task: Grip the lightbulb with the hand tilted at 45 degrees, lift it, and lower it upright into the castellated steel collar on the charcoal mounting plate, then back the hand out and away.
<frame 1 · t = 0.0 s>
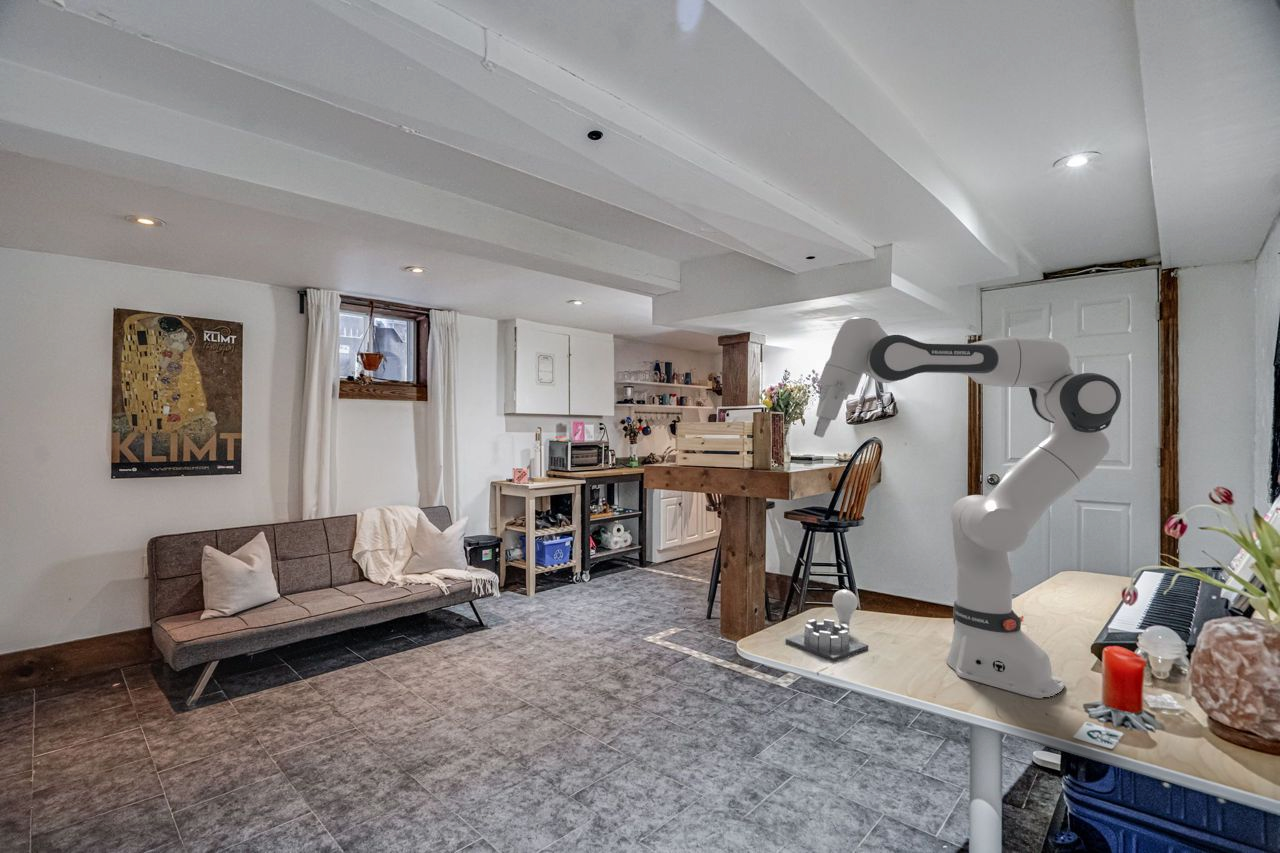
hand: (817, 436, 144), 52 cm above the table, tool tilted 20°, fingers open, 8 cm apart
lamp socket: (826, 646, 147), on the table
lightbulb: (844, 631, 158), on the table
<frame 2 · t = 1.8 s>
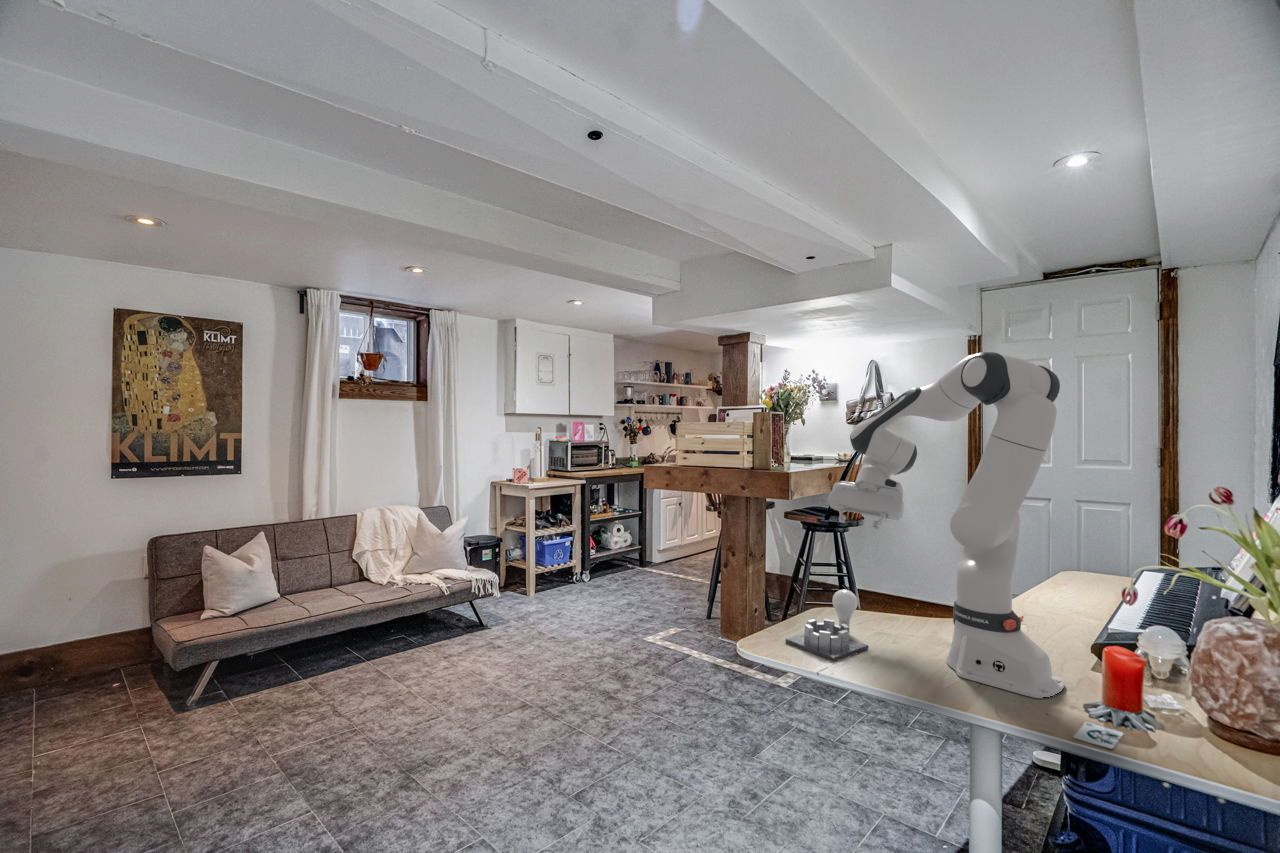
hand: (858, 524, 166), 27 cm above the table, tool tilted 40°, fingers open, 8 cm apart
nothing on the table moved.
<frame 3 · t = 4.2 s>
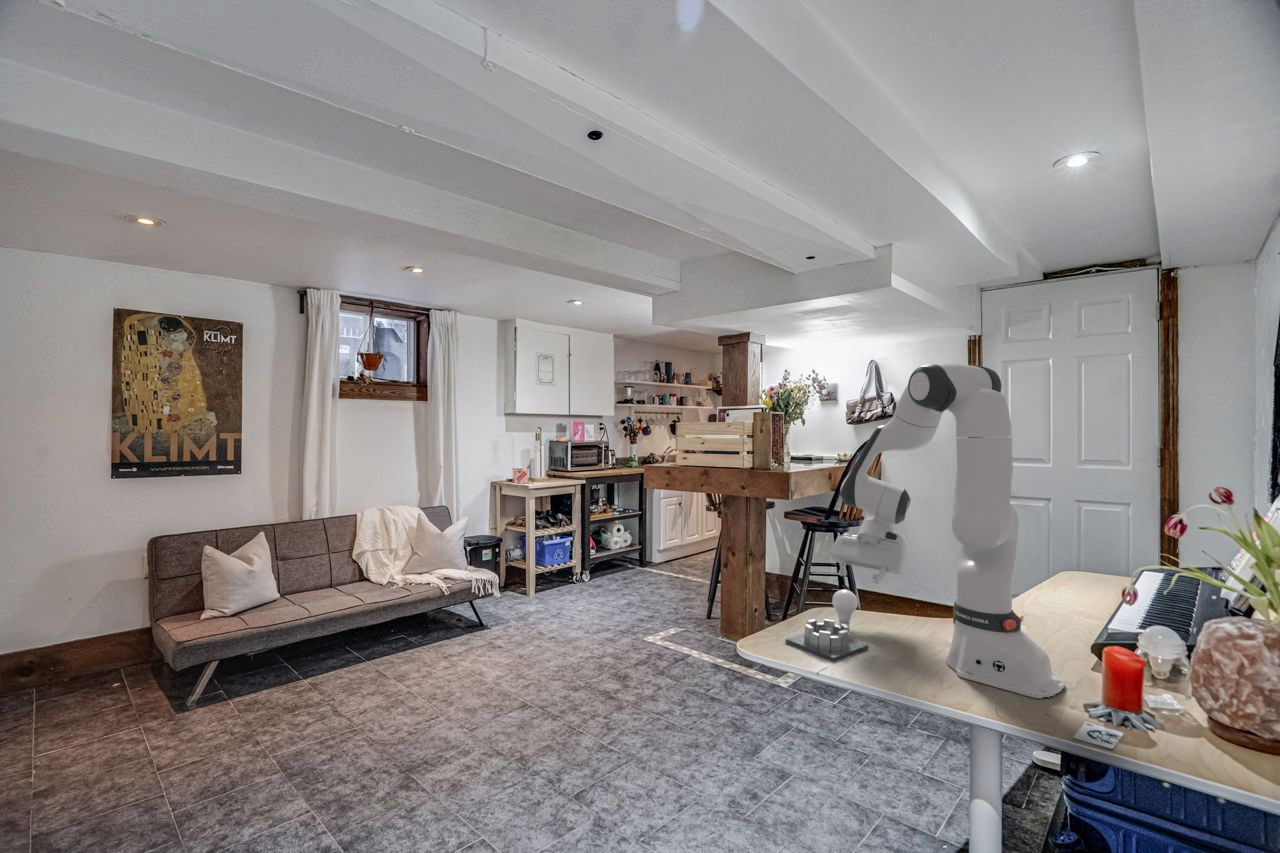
hand: (858, 578, 164), 13 cm above the table, tool tilted 45°, fingers open, 8 cm apart
nothing on the table moved.
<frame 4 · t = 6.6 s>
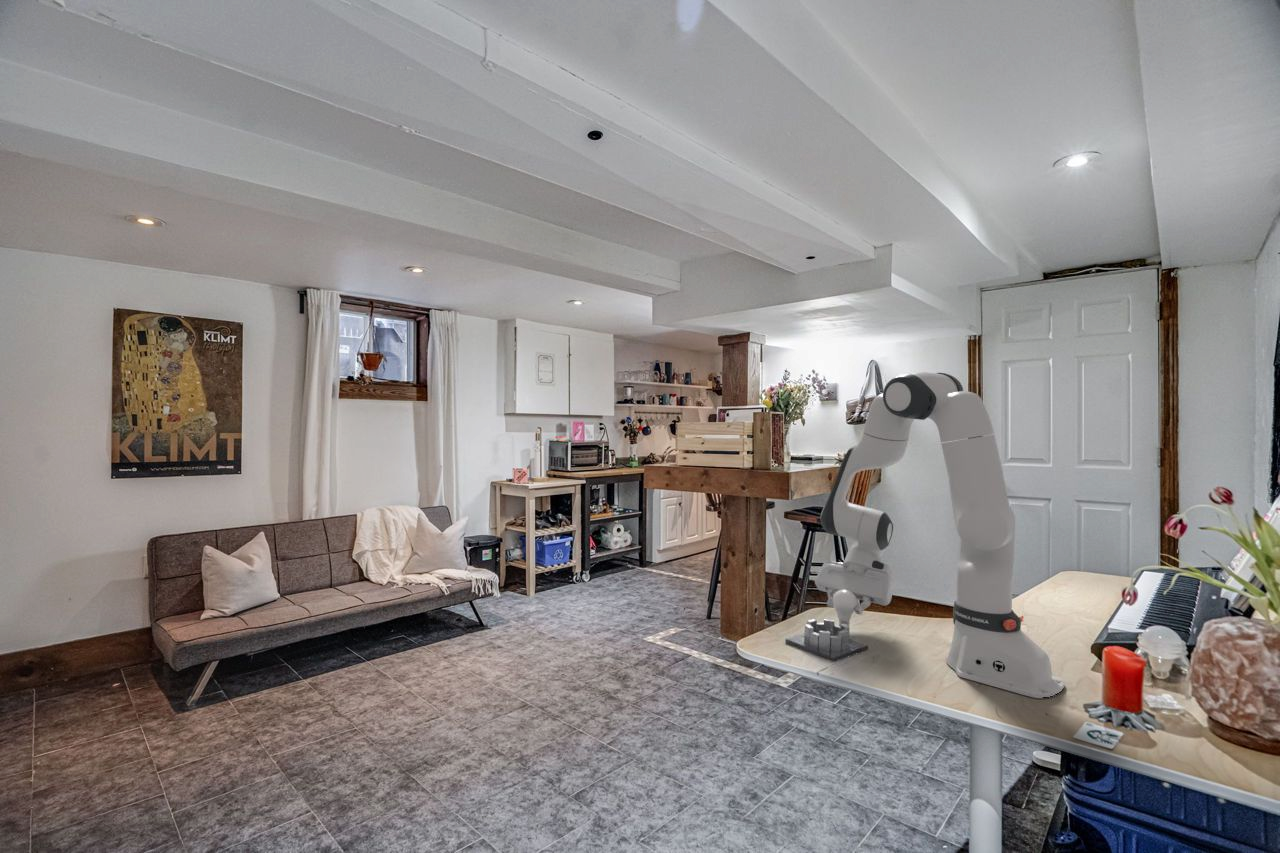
hand: (843, 609, 158), 6 cm above the table, tool tilted 45°, fingers closed on lightbulb, 6 cm apart
lightbulb: (844, 631, 158), on the table, touching gripper
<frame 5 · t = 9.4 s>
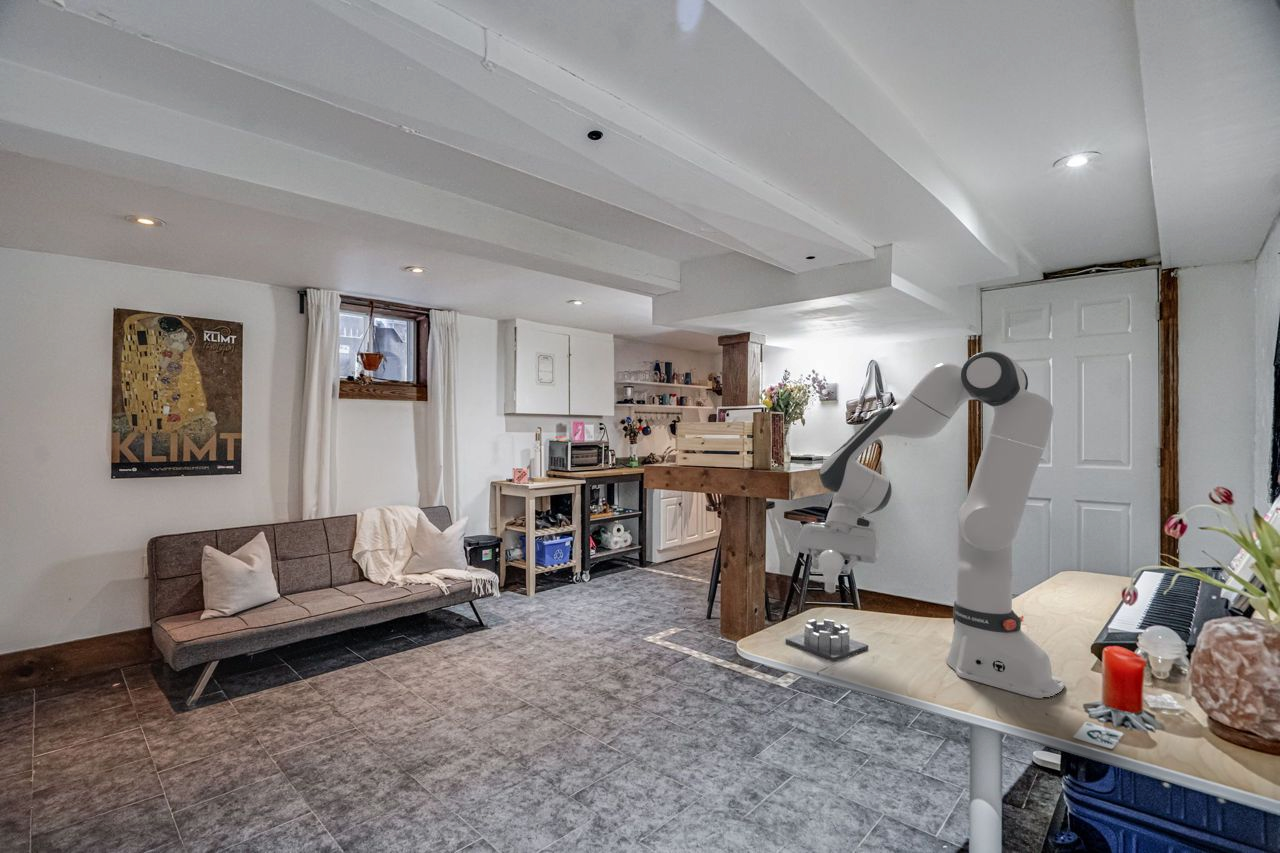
hand: (830, 570, 149), 18 cm above the table, tool tilted 45°, fingers closed on lightbulb, 6 cm apart
lightbulb: (829, 593, 150), point 12 cm above the table, touching gripper
when the fingers open (8 cm above the table, at t = 12.6 s): lightbulb drops 1 cm, resting on lamp socket.
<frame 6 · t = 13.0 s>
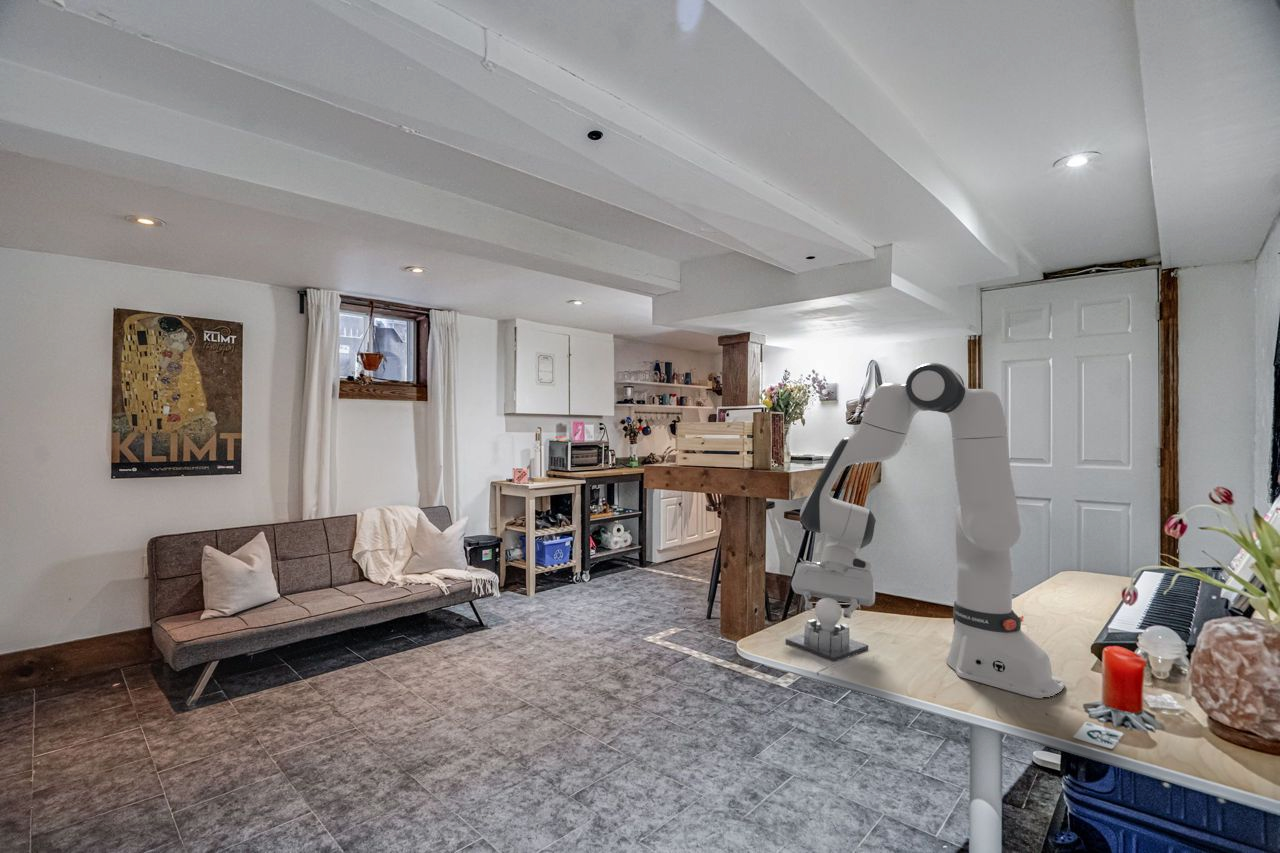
hand: (826, 613, 147), 8 cm above the table, tool tilted 45°, fingers open, 8 cm apart
lightbulb: (827, 642, 147), point 1 cm above the table, touching lamp socket
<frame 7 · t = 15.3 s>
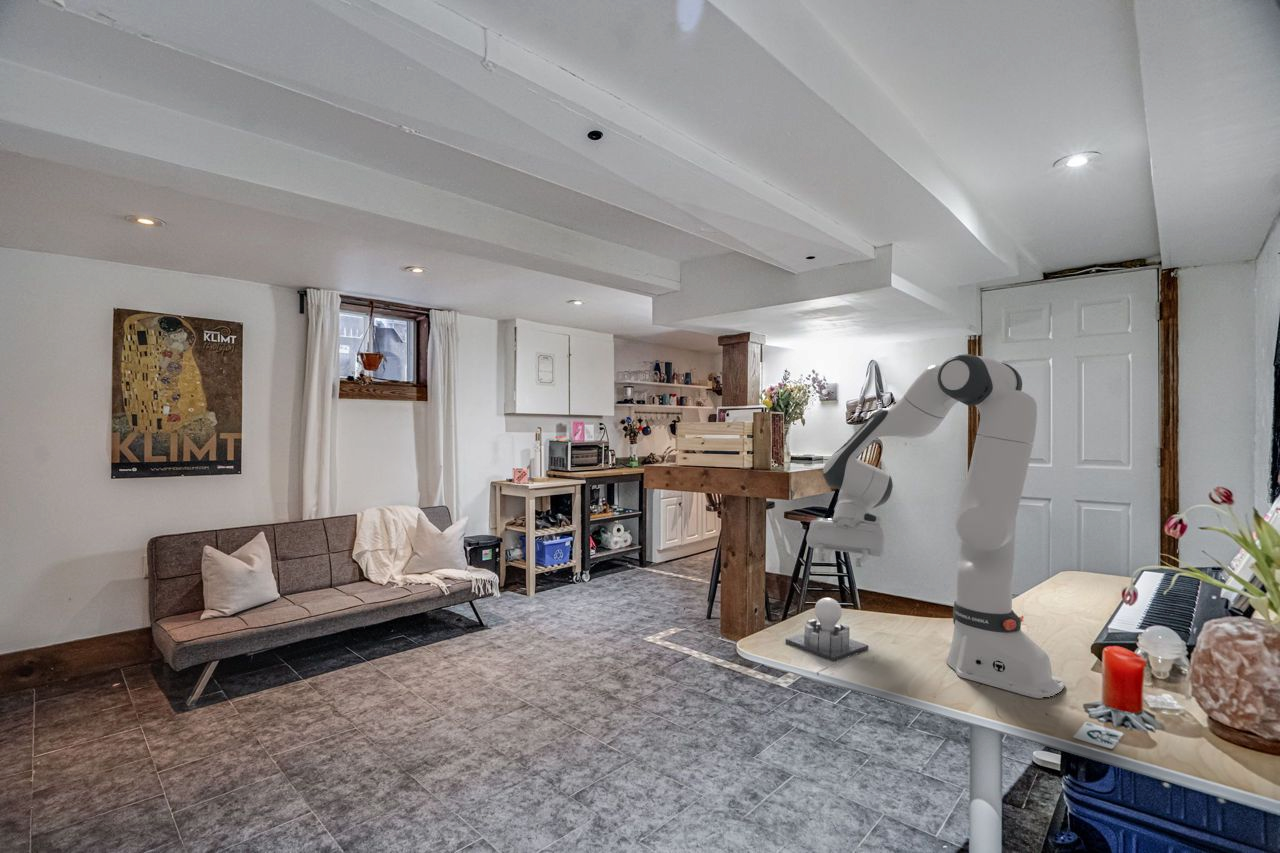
hand: (840, 563, 157), 18 cm above the table, tool tilted 45°, fingers open, 8 cm apart
nothing on the table moved.
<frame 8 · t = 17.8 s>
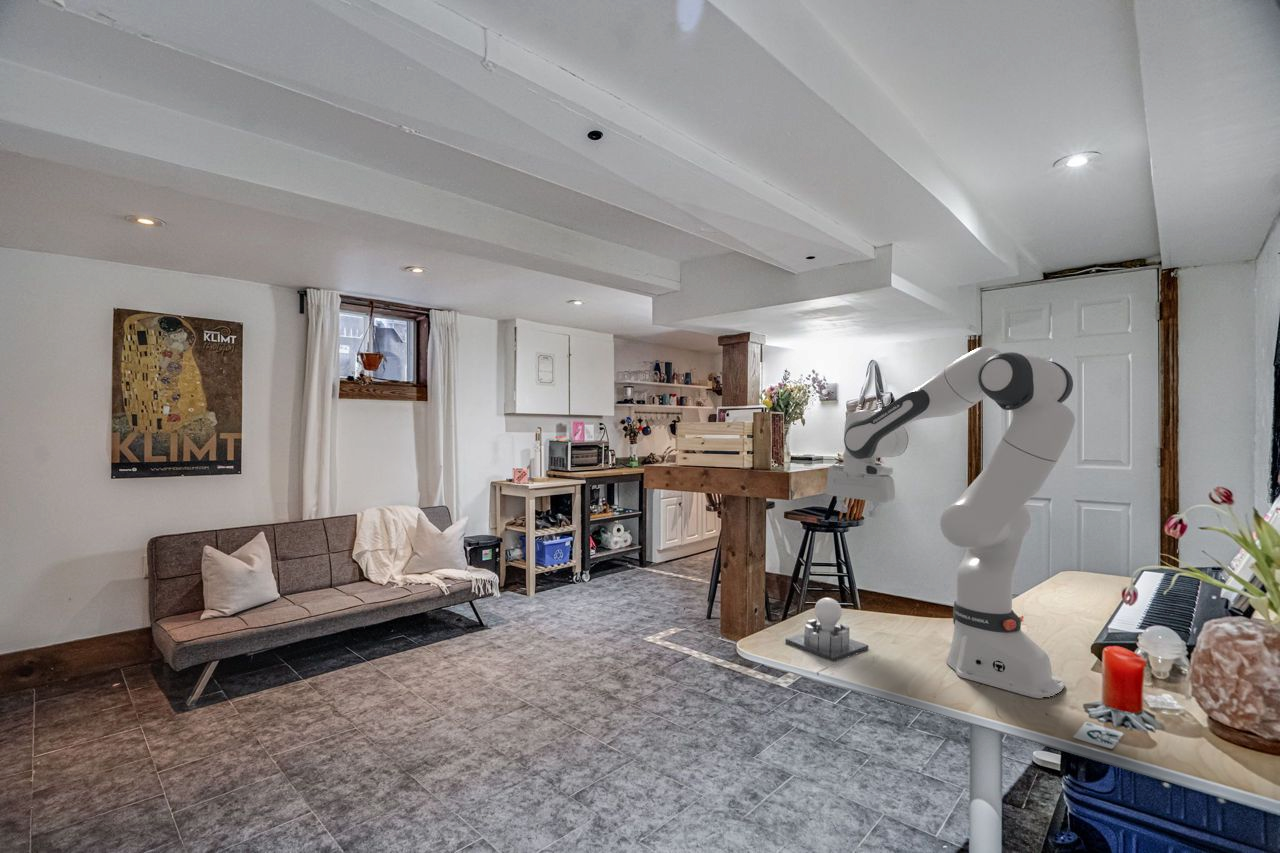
hand: (858, 514, 171), 29 cm above the table, tool pointing down, fingers open, 8 cm apart
nothing on the table moved.
at the end: lightbulb 0.2 cm off-centre on the lamp socket, point 0.8 cm above the lamp socket's base; lightbulb tilted 0°; the gripper is holding nothing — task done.
